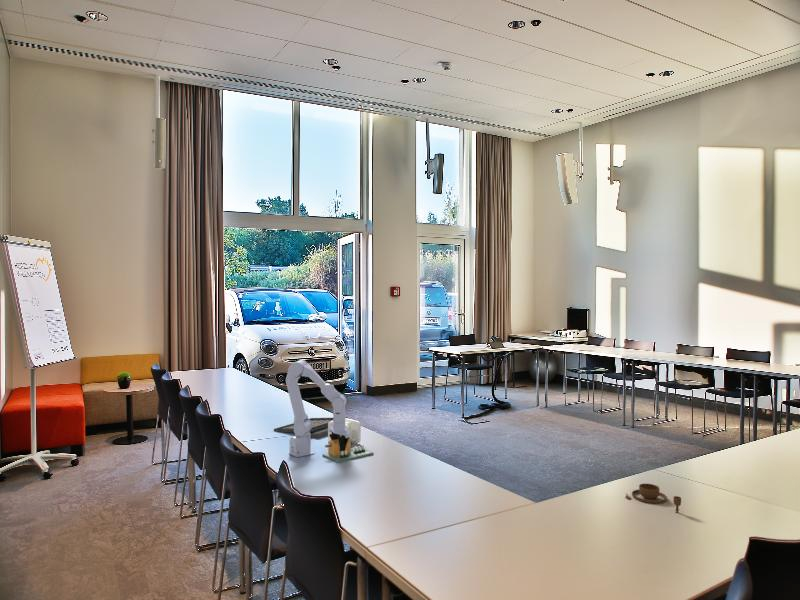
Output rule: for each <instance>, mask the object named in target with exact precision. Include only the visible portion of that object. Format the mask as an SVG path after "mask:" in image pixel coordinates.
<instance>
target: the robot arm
mask: <svg viewBox="0 0 800 600" xmlns="http://www.w3.org/2000/svg"><path fill="white" fill-rule="evenodd" d="M301 377H306V378H309V379H310V380H311V381H312V382H313V383H314V384H316V385H317V386H318V388H320V392H321V394H322V395H323V396H324V397H325V398H326V399H327V400H328V401H329V402H330V403H331V406H332V408H333V410H332V411H333V412H332V413H333V414H332V415H333V417H332V418H333V427H332V428H329V432H332V433H331V434H329V436H330V438H331V440H335V439H338V440H339V444H340V451H345V448H346V445H347V442H348V440H349V438H350V433H348V432H347V429H345V417H346V404H347V400H348V399H347V397H346V396H345V395H344V394H343V393H341V392H339V391H338V390H337V389H336V388H335V386H334V384H330V383H326V381H325V380H323V378H322V377H321V376H320V375H319V374H318V373H317V372H316V371H315V369H314V368H313V366H312V365H311V364H310V363H308V362H307V361H306V360H305V359H298V360H297V361H294V362H292V363H291V364H290V365H289V367H288V368H287V374H286V377H285V383H286V388H287V392H288V396H289V400H290V404H291V407H292V412H293V415H294V419H293V423H294V425H293V426H294V432H293V433H294V436H292V437H290V439H289V452H288V454H289V455H291V456H292V457H293V456H294V457H295V458H300V457H305V456H309V455H314V454H315V452H313V451H312V450H311V445H312V443H311V438H312V436H311V434H312V433H311V432H310V430H311V428H312V423H311V420H309V419H310V418H309V415H307V413H306V411H305V407H304V403H303V398H302V394H301V390H300V387H299V383H298V381H299V380H300V378H301ZM340 435H341V437H340Z"/></svg>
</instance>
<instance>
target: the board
mask: <svg viewBox="0 0 800 600" xmlns="http://www.w3.org/2000/svg"><path fill="white" fill-rule="evenodd" d="M361 450H362V447H361ZM364 450H365V452H361V453H356V454H355V453H354V451H355V446H354V447H350V453H347V455H349V457H345V458H340V456H341V455H337V456H333V455H330V454H328V452H327V453H322V457H323V458H326V459H328V460H330V461H332V462H335V463H343V462H348V461H352V460H356V459H361V458H364V457H369V456H372V455H374V452H373V451H372V450H371V451H370V450H368V449H365V448H364ZM357 451H358V446H357ZM343 455H345V454H343Z"/></svg>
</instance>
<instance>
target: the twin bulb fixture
mask: <svg viewBox="0 0 800 600" xmlns="http://www.w3.org/2000/svg"><path fill="white" fill-rule="evenodd" d="M345 457H349V455H347V450H345V455H343V451H341V456H340V458H345Z"/></svg>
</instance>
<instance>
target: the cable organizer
mask: <svg viewBox="0 0 800 600" xmlns="http://www.w3.org/2000/svg"><path fill="white" fill-rule="evenodd" d="M332 427H333V421H330V422H329V423H328V426H327V428H328V436H327V440H328V441H330V440H331V438H330V436H329V434H331V433H332V432H329V428H332ZM361 427H362V426H361V421H358V420H356V419H351V418H348V417H347V418H345V429H347V432H348V433H350V438H349V440H350V443H352V444H355V445H356V444H358V443H360V442H361V439H362V433H361V432H362V430H361ZM340 437H341V435H340Z"/></svg>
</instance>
